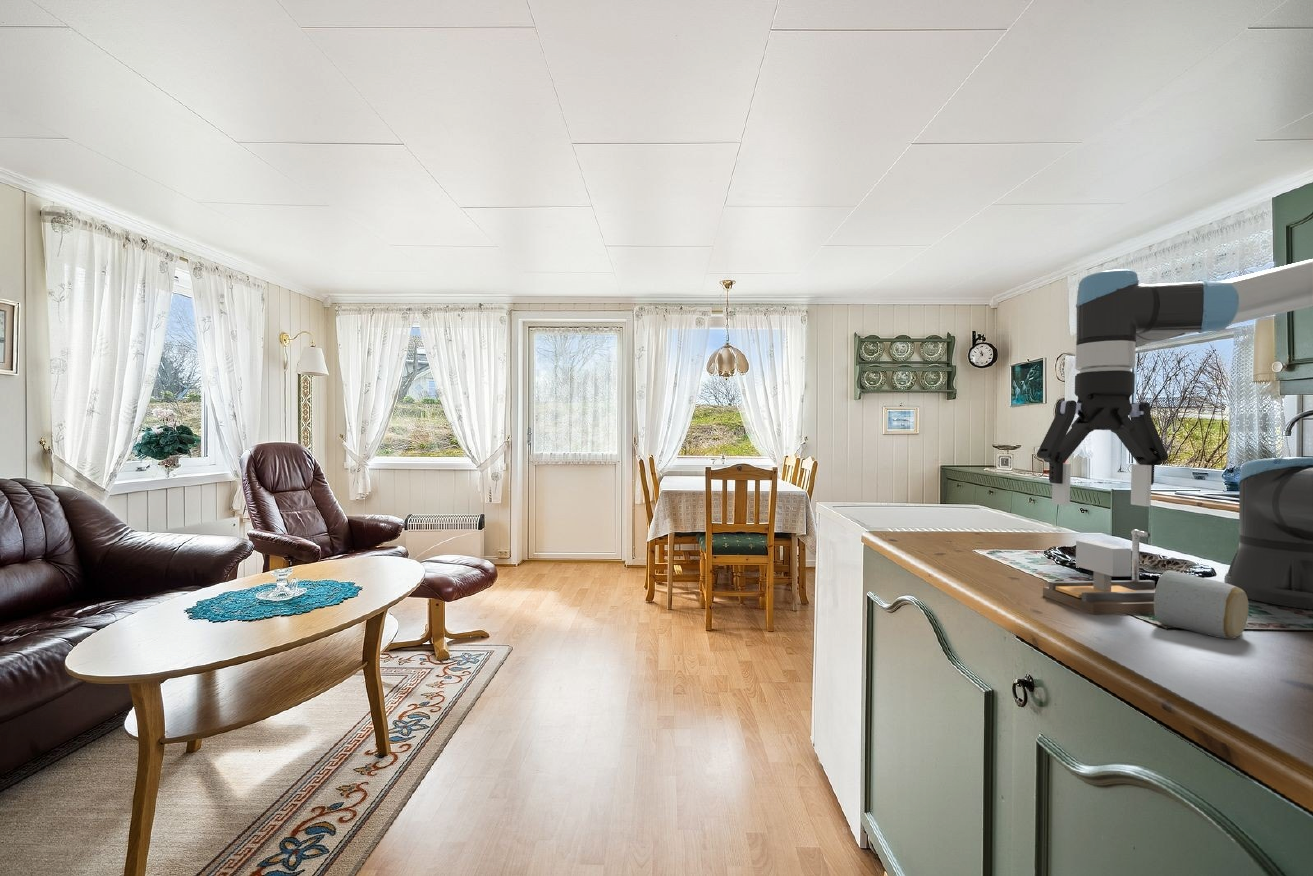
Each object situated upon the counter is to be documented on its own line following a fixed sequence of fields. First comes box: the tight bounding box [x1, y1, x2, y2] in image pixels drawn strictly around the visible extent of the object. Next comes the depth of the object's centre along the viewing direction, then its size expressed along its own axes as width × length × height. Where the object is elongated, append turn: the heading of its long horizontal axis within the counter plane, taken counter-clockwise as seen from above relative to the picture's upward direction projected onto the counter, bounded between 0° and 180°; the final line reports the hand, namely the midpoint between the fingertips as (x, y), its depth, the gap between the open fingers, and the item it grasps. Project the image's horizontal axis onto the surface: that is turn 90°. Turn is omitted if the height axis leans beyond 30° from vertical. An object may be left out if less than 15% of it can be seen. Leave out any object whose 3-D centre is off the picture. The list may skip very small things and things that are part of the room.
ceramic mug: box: [1153, 569, 1249, 639], centre depth 80 cm, size 11×8×8 cm
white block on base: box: [1056, 539, 1139, 598], centre depth 92 cm, size 11×7×8 cm, turn 95°
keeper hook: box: [1130, 528, 1151, 580], centre depth 96 cm, size 2×3×10 cm
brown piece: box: [1042, 579, 1156, 615], centre depth 92 cm, size 18×10×3 cm, turn 95°
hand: (1100, 505), depth 92 cm, fingers open, 13 cm apart
